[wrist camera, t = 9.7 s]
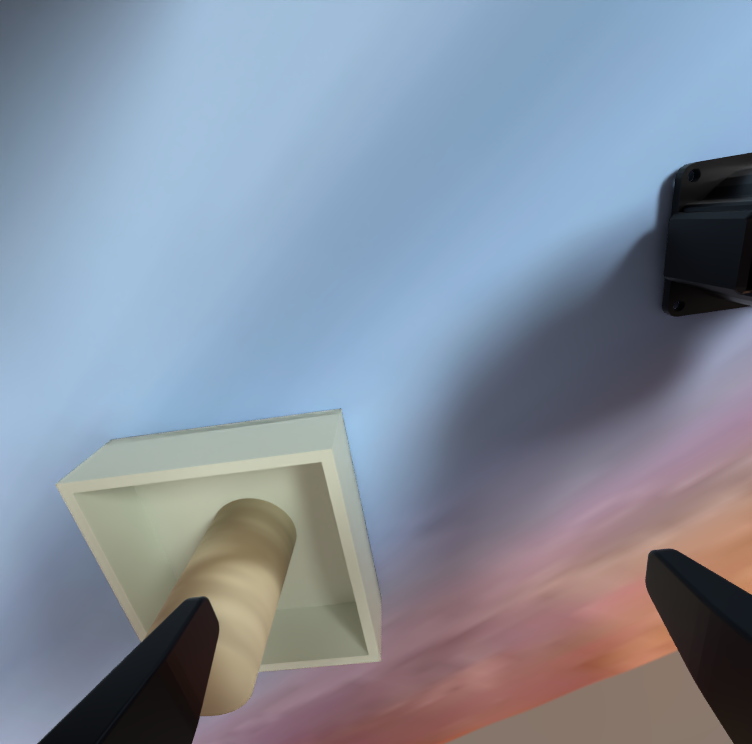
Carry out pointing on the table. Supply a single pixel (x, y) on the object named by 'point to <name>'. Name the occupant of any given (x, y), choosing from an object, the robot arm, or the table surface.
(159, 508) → the bin
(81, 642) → the table surface
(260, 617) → the beige rounded cylinder
